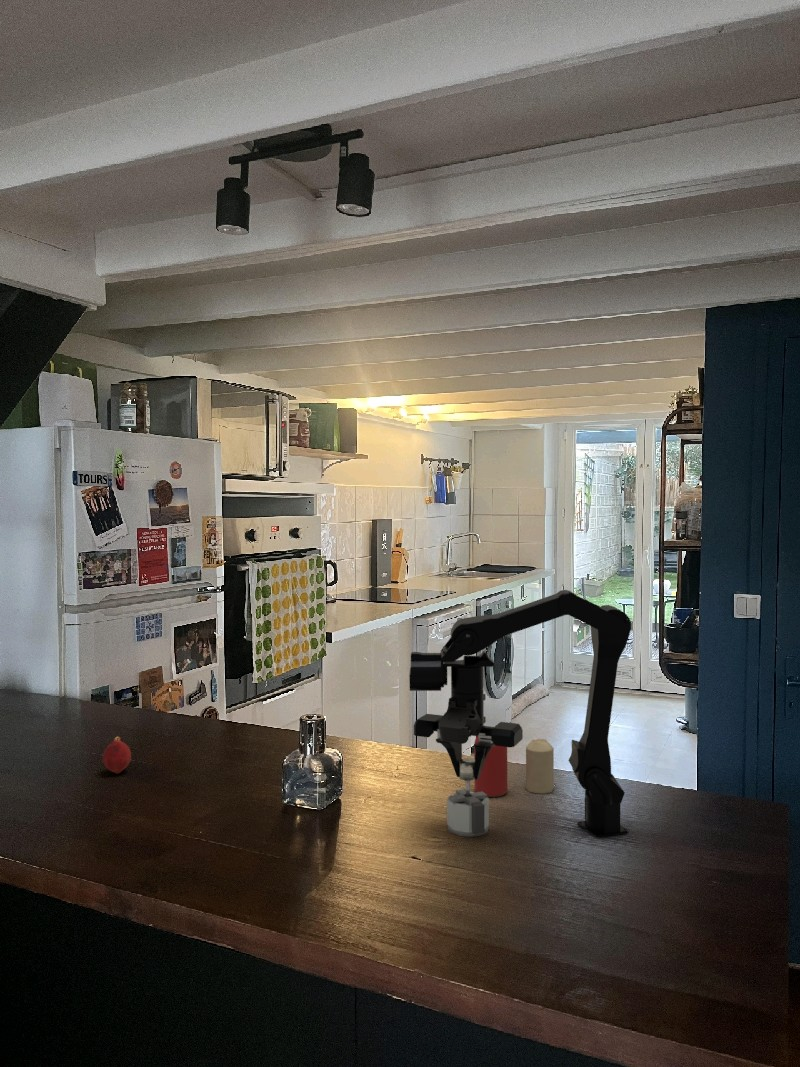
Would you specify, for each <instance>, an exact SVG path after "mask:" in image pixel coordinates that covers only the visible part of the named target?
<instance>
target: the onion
mask: <svg viewBox="0 0 800 1067" xmlns="http://www.w3.org/2000/svg"><path fill="white" fill-rule="evenodd" d="M131 760H132V751H131V749H130V747H129V745H128V744H126V742H124V741H121V737H120V736H116V737H115V738H114V739H113V741H112V742H111V743H110V744H108V745H107V746H106V748H105V749H104V751H103V755H102V763H103V764H104V766H105V768H106V769H107V770H109V771H110V772H112V773H114V774H117V775H118V774H120V773H121V772H122V771H124V769H126V768H127V767H128V766H129V765H130V762H131Z"/></svg>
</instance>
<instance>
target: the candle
mask: <svg viewBox="0 0 800 1067" xmlns="http://www.w3.org/2000/svg"><path fill="white" fill-rule="evenodd" d="M554 749H555V748H554V747H553V745H552V744H551V743H550V742H549V741H548V740H547V739H544V738H537V739H534V738H533V739H532V740H531V741H530V742H528V744H527V745H526V746H525V788H526V791H528V792H529V793H534V794H541V795H542V794H543V795H544V794H550V793H552V792H553V791H554V786H555V785H554V781H555V778H554V777H555V776H554V775H555V773H554V772H555V771H554V770H555V768H554V762H555V761H554V759H555V758H554V751H555V750H554Z"/></svg>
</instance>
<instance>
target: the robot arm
mask: <svg viewBox="0 0 800 1067" xmlns="http://www.w3.org/2000/svg"><path fill="white" fill-rule="evenodd" d="M564 616H570V617H572V618H574V619H576V620H577V621H579V622H582V623H584V624H586V625H587V626H590V636H591V637H590V638H591V644H592V652H593V659H592V660H593V661H592V668H591V674H590V676H591V677H590V682H589V683H590V684H589V690H588V698H587V706H586V712H585V714H586V715H585V722H584V728H583V729H584V730H583V734H582V735H581V737H580V738H579V740H575V739H572V740H571V754H570V757H569V758H568V763H569V764H570V766H571V768H572V771H573V774H574V776H575V777H576V779H577V781H578V783H579V785H580V786H581V787H582V788H583V789H584V796H585V797H584V820H582V821H578V822H577V826H579V828H581V829H583V830H584V831H586V832H587V833H589V834H590V835H592V836H593V837H595V838H597V839H598V838H599V839H600V838H606V837H611V836H617V835H622V834H623V835H624V834H628V833H629V830H628V828H626V827H625V826H623V825H622V824H621V804H622V802H623V799H624V797H625V796H624V795H625V793H626V792H625V790H624V789H623V788H622V786H621V785H620V783H619V782H618V780H617V779H616V778H615V776H614V775H613V774H612V760H611V752H610V745H609V732H610V728H611V727H610V726H611V718H612V711H613V702H614V695H615V688H616V687H615V686H616V682H617V681H616V680H617V674H618V673H617V672H618V665H619V660H620V658H621V656H622V655H623V652H624V650H625V648H626V646H627V644H628V640H629V636H630V634H631V630H632V622H631V619H630V616H628V615H627V614H626V612H624V611H623V610H621V609H619V608H617V607H616V606H614V605H610V604H604V605H598V604H595V603H594V602H591V601H589V600H587V599H585V598H583V597H581V596H578V595H577V594H575V593H574V592H572V591H571V590H568V589H563V590H559V591H558V592H556V593H554V594H551V595H549V596H546V597H542V598H539V599H537V600H534V601H531V602H528V603H526V604H525V603H524V604H522V605H519V606H517V607H513V608H511V609H508V610H505V611H502V612H498V613H495V614H494V613H493V614H485V615H477V616H471V617H470V616H469V617H464V618H461V619H458V620H457V621H456V622H454V623H453V625H452V627H451V629H450V638H449V640H448V641H447V642H446V643H445V644H444V646H442V648H441V650H440V652H420V651H411V652H410V667H409V691H411V692H425V691H426V692H439V691H440V692H441V691H442V688H445V686H448V668H450V676H451V677H450V685H451V686H450V690H451V691H450V697H449V698H448V704H447V705H448V706H447V709H446V712H444V713H443V715H442V714H433V713H425V714H424V715H422V716H420V717H419V718H417V719H415V721H414V723H413V735H414V736H415V737H423V738H430V737H431V736H432V735H433V734H435V733H434V732H437V733H436V734H437V737H436V739H435V742H436V743H437V744H440V745H442V746H443V748H444V749H445V750H446V751H447V754H448V755H449V758H450V762H451V765H452V767H453V770H454V772H455V776H456V777H457V778H459V760H461V759H463V754H462V753H463V745H464V744H466V743H468V741H469V737H472V736H473V737H476V736H478V739H479V741H478V742H477V743H476V744H475V745H474V744H473V749H474V748H475V752H476V753H475V768H474V775H475V780H477V779H478V778H479V776H480V773H481V771H482V768H483V765H484V763H485V760H486V757H487V755H488V753H489V751H490V749H491V748H492V747H493V746H495V745H496V746H503V747H507V748H514V747H516V746H517V745H518V744H519V743H521V742H522V740H523V738H524V737H523V736H524V735H523V734H524V732H523V727H522V726H521V725H520V723H515V722H508V721H507V722H505V721H500V722H498V723H497V724H495V726H487V725H485V723H486V721H487V719H486V716H484V710H485V709H484V704H485V703H484V701H486V699H487V698H486V694H485V693H484V667H485V668H487V667H488V668H489V667H492V668H493V667H494V666H495V662H494V660H493V658H491V657H490V656H489V655H488V654H487V652H486V651H485V649H486V648H488V647H490V646H491V645H493V644H495V643H497V641H499V640H501V639H502V638H504V637H506V636H508V635H511V634H514V633H516V632H520V631H522V630H526V629H528V628H529V629H530V628H532V627H535V626H538V625H540V624H543V623H546V622H550V621H551V620H552V621H553V620H554V619H557V618H561V617H564ZM479 652H481V653H480V654H479V655H476V654H478V653H479ZM462 657H463V659H461V658H462Z"/></svg>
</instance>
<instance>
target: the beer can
mask: <svg viewBox="0 0 800 1067" xmlns="http://www.w3.org/2000/svg"><path fill="white" fill-rule="evenodd" d="M478 741H479V739H478V736H475V739H474V743H473V746H474V745H475V744H476V743H477V742H478ZM473 749H474V750H473V751H474V753H473V756H474V757H473V759H474V760H475V753H476V752H475V748H474V747H473ZM473 782H474V791H475V792H482V791H483V792H484V793H485V794H487V798H498V797H503V796H504V795H506V793H507V792H508V747H503V746H496V745H495V746H493V747H492V748H491V749H490V751H489V753H488V755H487V757H486V760H485V763H484V765H483V768H482V771H481V773H480V776H479V778H478V779H477V780H473Z"/></svg>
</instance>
